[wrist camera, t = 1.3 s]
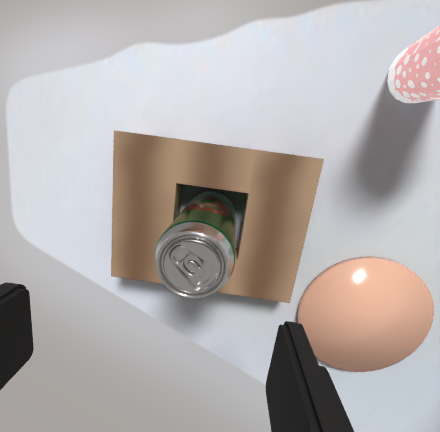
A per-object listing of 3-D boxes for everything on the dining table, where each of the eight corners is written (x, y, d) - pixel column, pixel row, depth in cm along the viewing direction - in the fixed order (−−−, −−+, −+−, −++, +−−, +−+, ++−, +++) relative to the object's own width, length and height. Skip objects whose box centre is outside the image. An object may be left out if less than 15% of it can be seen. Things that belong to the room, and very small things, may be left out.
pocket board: (313, 157, 24) (323, 159, 22) (284, 286, 28) (289, 303, 25) (128, 132, 25) (114, 130, 22) (123, 263, 29) (111, 276, 26)
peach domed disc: (447, 267, 26) (454, 271, 26) (404, 374, 30) (408, 380, 29) (312, 247, 27) (315, 250, 26) (286, 356, 31) (287, 361, 30)
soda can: (211, 246, 27) (193, 319, 16) (176, 213, 27) (131, 265, 15) (245, 215, 26) (253, 269, 15) (210, 179, 26) (190, 207, 14)
